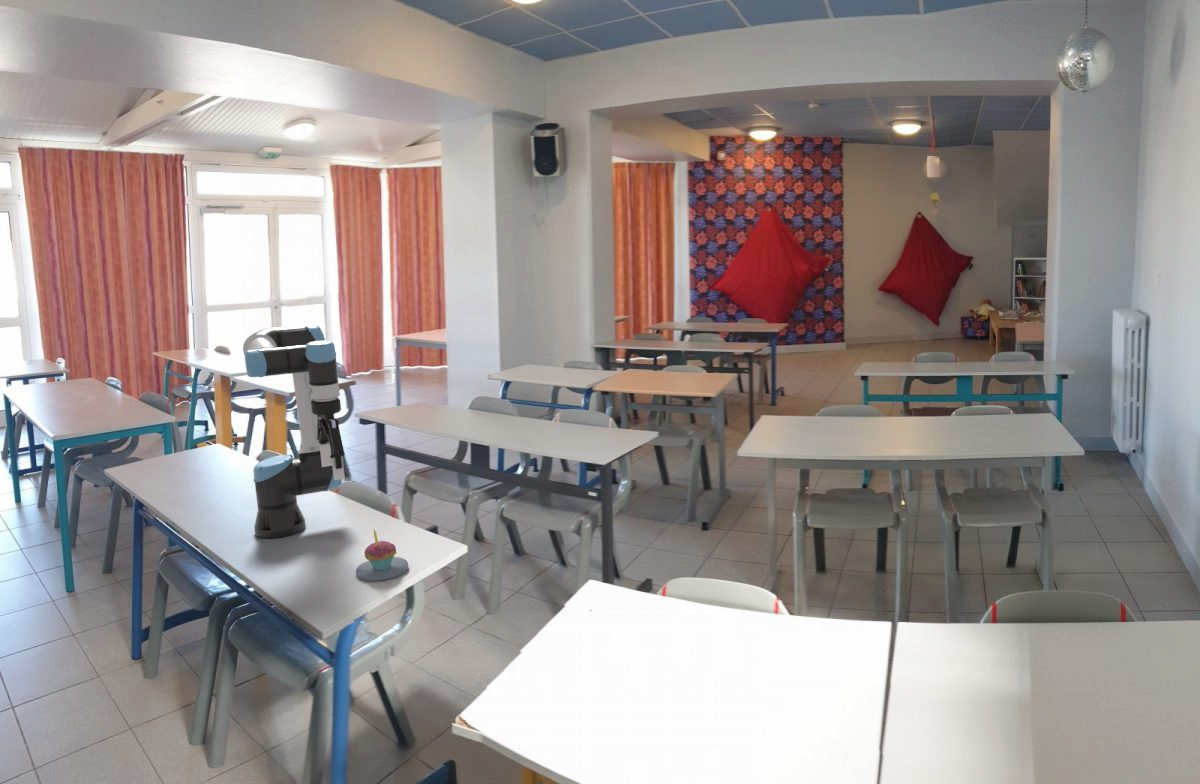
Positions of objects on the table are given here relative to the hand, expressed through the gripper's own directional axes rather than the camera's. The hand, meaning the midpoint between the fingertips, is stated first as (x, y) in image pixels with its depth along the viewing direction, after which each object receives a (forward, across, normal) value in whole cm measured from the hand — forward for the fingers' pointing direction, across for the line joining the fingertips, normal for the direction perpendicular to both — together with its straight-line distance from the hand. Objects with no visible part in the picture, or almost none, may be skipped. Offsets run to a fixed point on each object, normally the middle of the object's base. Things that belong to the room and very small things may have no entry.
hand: (333, 472), depth 222 cm
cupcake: (+26, +13, +8) cm, 30 cm away
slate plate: (+26, +13, +8) cm, 31 cm away
